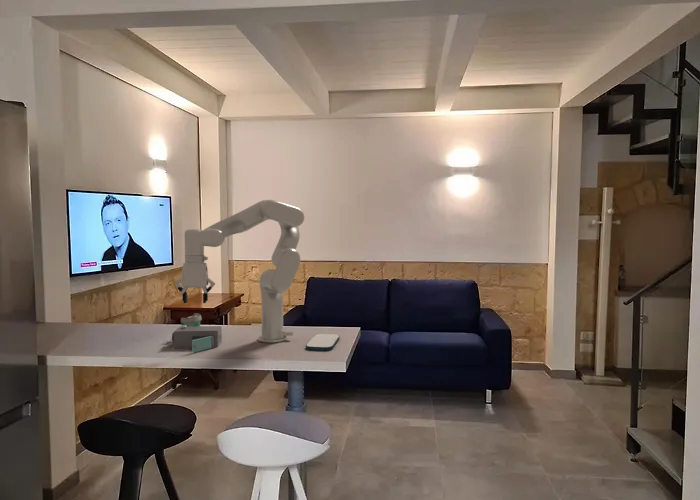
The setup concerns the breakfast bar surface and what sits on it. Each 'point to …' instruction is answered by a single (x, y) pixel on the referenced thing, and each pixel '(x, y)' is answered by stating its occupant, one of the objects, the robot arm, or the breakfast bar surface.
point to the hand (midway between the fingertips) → (195, 302)
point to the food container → (192, 320)
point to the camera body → (195, 335)
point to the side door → (202, 343)
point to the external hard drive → (322, 342)
